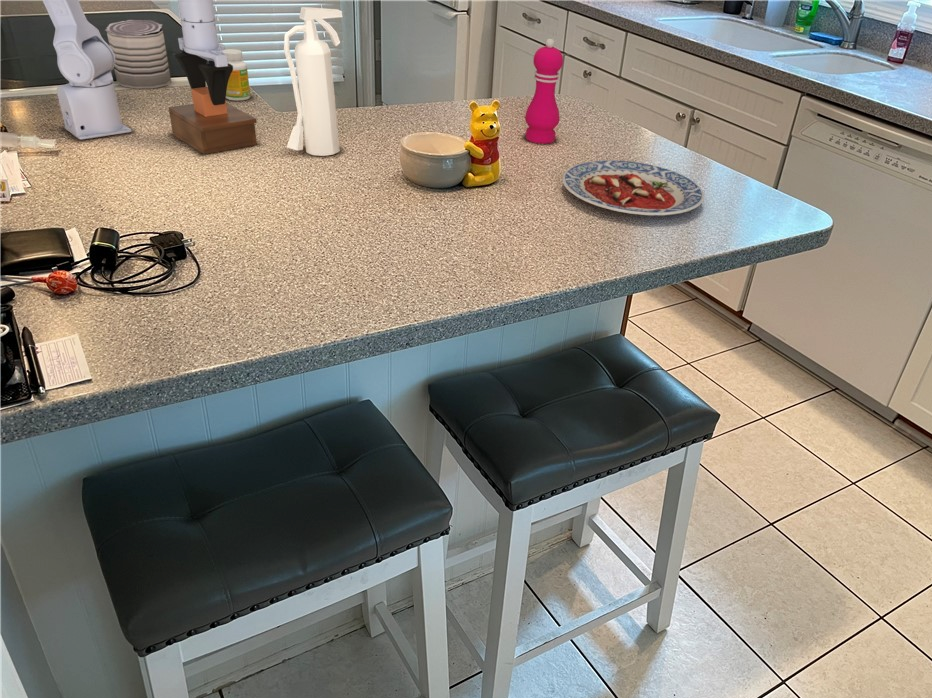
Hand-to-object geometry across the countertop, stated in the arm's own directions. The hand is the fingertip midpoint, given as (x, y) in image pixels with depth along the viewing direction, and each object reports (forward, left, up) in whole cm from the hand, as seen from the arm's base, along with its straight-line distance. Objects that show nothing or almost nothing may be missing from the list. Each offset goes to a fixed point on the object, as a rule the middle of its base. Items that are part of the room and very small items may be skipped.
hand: (209, 98), depth 143 cm
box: (0, 0, -8) cm, 8 cm away
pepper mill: (+57, -32, -8) cm, 66 cm away
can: (+5, +43, -8) cm, 44 cm away
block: (0, 0, -2) cm, 2 cm away
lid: (0, 0, -3) cm, 3 cm away
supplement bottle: (+17, +23, -8) cm, 30 cm away
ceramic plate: (+48, -64, -8) cm, 80 cm away
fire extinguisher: (+13, -15, -8) cm, 21 cm away
